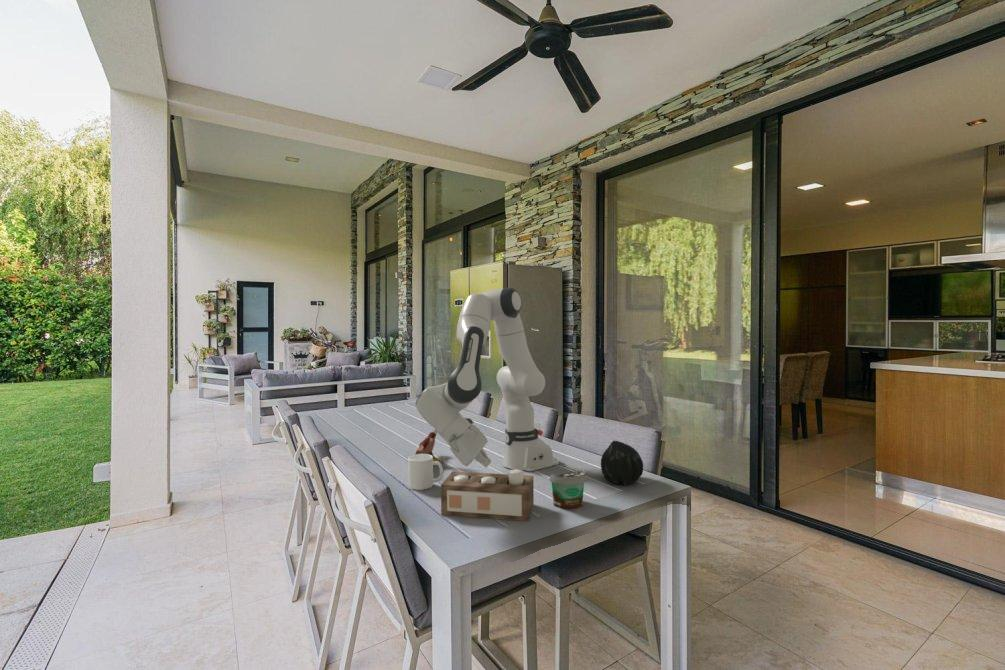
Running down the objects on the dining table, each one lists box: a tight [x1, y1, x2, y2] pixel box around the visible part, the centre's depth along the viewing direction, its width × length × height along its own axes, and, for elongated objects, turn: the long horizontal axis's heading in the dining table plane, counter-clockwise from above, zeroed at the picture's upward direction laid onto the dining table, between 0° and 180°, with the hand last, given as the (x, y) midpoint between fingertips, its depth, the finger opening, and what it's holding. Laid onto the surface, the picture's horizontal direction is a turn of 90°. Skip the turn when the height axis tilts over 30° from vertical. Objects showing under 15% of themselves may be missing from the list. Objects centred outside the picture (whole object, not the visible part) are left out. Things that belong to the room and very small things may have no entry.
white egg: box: [454, 475, 468, 482], centre depth 141 cm, size 4×4×5 cm
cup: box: [407, 453, 444, 491], centre depth 159 cm, size 8×12×10 cm
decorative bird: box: [414, 428, 444, 464], centre depth 184 cm, size 28×18×15 cm, turn 179°
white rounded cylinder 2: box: [508, 469, 525, 485], centre depth 137 cm, size 4×4×5 cm
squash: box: [600, 440, 644, 486], centre depth 163 cm, size 14×15×15 cm
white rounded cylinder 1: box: [481, 477, 496, 484], centre depth 139 cm, size 4×4×5 cm
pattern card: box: [447, 490, 522, 516], centre depth 133 cm, size 22×1×6 cm, turn 80°
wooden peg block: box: [440, 470, 535, 522], centre depth 139 cm, size 26×12×9 cm, turn 80°
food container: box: [548, 468, 587, 510], centre depth 141 cm, size 12×6×10 cm, turn 114°
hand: (488, 464), depth 139 cm, fingers closed
